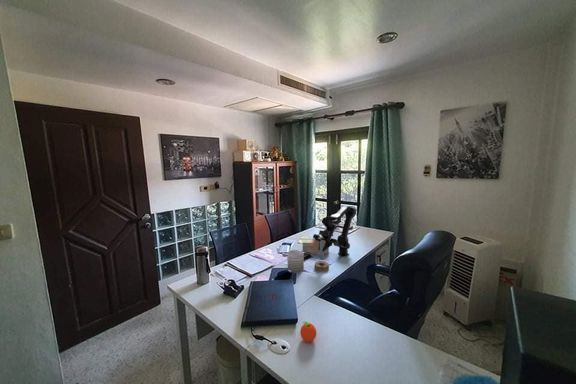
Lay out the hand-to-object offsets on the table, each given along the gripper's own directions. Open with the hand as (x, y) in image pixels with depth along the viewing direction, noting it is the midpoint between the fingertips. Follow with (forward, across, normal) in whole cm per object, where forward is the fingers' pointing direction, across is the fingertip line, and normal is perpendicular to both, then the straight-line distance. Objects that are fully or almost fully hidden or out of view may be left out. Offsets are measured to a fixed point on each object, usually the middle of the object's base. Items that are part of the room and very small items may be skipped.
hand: (320, 250), depth 158 cm
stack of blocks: (-5, -20, +25) cm, 33 cm away
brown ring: (+9, 0, +10) cm, 14 cm away
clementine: (+49, +32, -30) cm, 65 cm away
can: (+18, -13, +2) cm, 22 cm away
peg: (+4, 0, +6) cm, 7 cm away
